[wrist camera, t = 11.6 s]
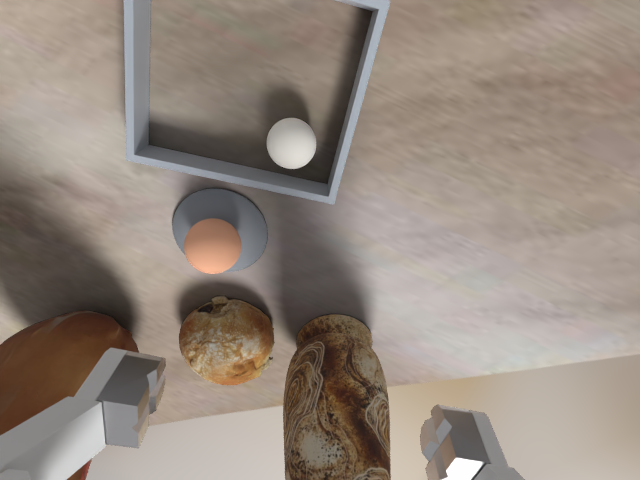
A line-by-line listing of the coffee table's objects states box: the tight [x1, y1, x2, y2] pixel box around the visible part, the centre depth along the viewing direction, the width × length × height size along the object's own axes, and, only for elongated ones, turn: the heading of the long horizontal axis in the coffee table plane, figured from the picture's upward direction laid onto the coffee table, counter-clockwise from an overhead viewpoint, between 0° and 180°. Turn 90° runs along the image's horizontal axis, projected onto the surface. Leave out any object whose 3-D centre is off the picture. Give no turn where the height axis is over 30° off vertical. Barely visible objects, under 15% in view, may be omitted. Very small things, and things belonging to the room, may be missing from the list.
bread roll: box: [179, 296, 274, 385], centre depth 40 cm, size 10×10×8 cm
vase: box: [283, 314, 391, 480], centre depth 30 cm, size 10×11×30 cm
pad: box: [173, 188, 267, 272], centre depth 36 cm, size 9×9×1 cm
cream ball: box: [267, 118, 316, 169], centre depth 30 cm, size 4×4×4 cm
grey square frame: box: [124, 0, 390, 205], centre depth 28 cm, size 17×15×3 cm
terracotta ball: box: [184, 218, 242, 274], centre depth 34 cm, size 5×5×5 cm
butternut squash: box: [0, 310, 139, 480], centre depth 31 cm, size 14×13×25 cm
